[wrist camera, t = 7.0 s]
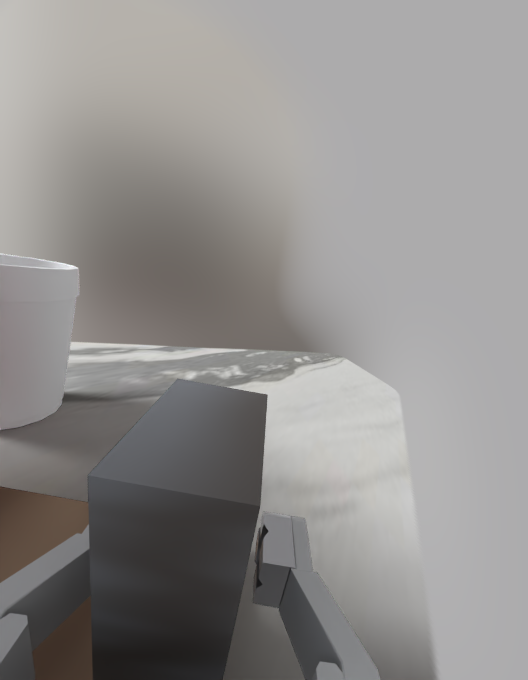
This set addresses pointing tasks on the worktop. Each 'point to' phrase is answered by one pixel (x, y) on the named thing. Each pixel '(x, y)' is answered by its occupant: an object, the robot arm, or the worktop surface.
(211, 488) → the strip
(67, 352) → the foam cup
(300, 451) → the worktop surface
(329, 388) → the worktop surface
